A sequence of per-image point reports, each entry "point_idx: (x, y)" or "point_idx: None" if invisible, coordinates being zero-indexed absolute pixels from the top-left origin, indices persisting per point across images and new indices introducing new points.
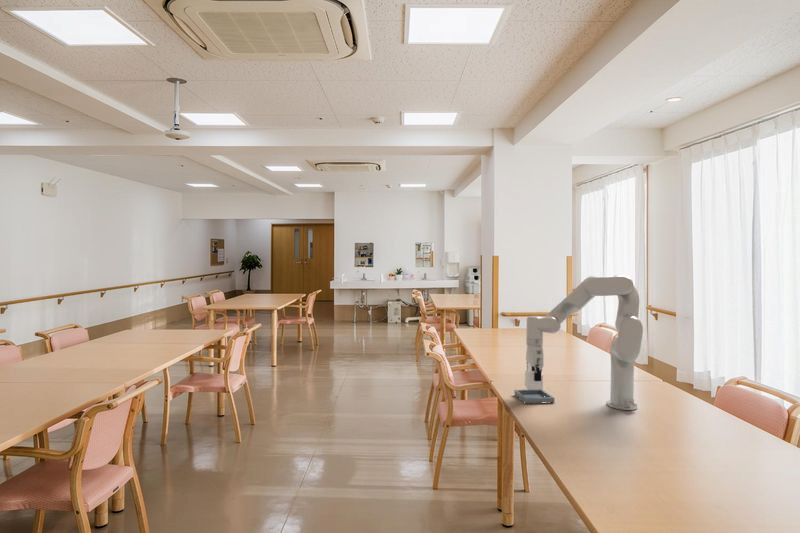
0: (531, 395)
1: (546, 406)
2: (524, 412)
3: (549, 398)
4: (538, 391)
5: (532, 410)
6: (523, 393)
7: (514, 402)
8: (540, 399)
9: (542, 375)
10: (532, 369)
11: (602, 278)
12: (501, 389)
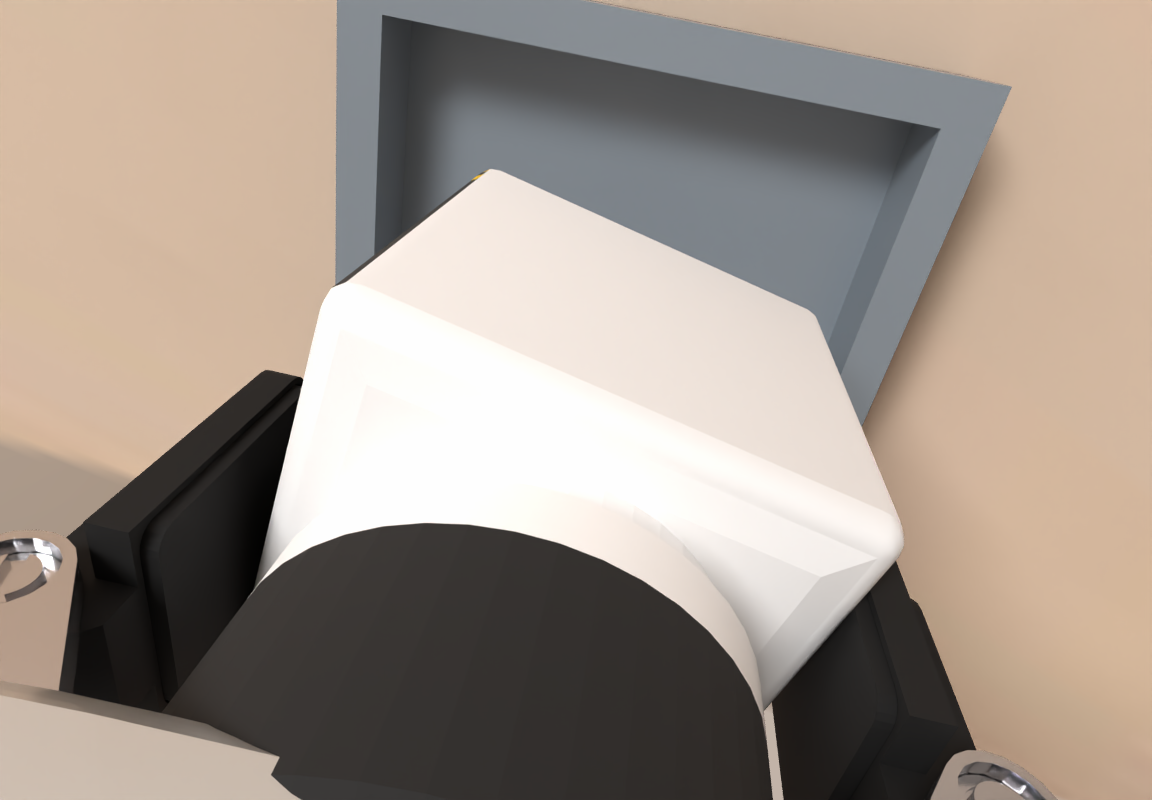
0: None
1: (1021, 334)
2: (1033, 707)
3: (956, 205)
4: (392, 64)
5: (1035, 602)
6: None
7: None
8: (876, 372)
9: (898, 552)
10: None
11: None
12: (98, 451)
